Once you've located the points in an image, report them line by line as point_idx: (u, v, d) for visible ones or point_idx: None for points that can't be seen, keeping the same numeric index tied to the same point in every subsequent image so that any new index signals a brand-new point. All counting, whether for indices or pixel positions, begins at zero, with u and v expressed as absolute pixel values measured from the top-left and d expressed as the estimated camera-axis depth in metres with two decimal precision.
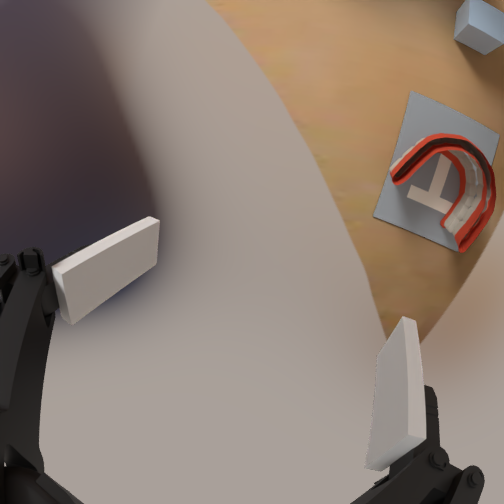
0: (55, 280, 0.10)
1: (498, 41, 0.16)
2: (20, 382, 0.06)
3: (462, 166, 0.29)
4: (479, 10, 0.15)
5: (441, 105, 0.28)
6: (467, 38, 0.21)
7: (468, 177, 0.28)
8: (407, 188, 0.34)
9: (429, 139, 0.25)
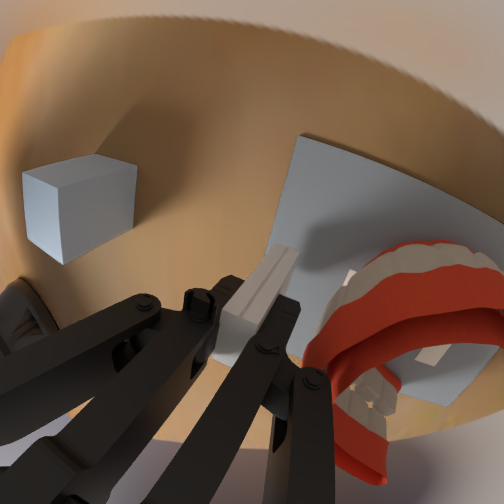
0: (223, 323, 0.10)
1: (62, 198, 0.14)
2: (126, 439, 0.06)
3: None
4: (37, 230, 0.16)
5: None
6: (110, 222, 0.19)
7: None
8: (419, 365, 0.17)
9: None
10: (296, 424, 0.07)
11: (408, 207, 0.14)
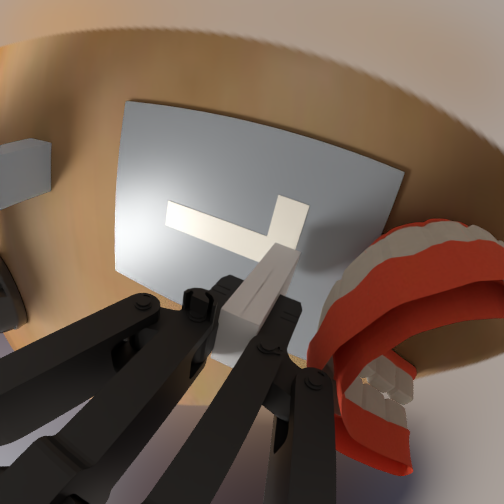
0: (222, 322, 0.10)
1: None
2: (125, 438, 0.06)
3: None
4: None
5: (117, 224, 0.21)
6: (31, 184, 0.21)
7: None
8: None
9: None
10: (297, 424, 0.07)
11: (201, 138, 0.16)
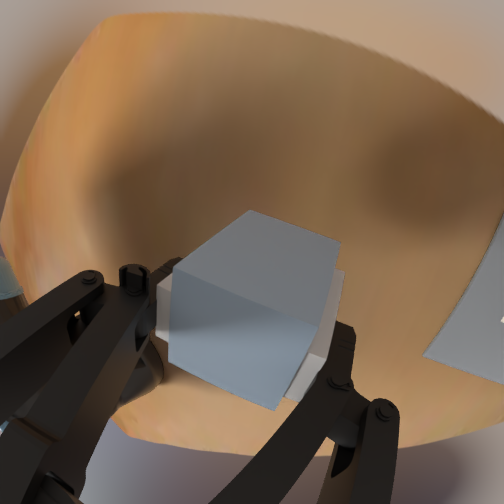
0: (159, 298, 0.11)
1: None
2: (87, 411, 0.06)
3: None
4: (210, 362, 0.11)
5: (451, 319, 0.19)
6: None
7: None
8: None
9: None
10: (364, 452, 0.06)
11: None
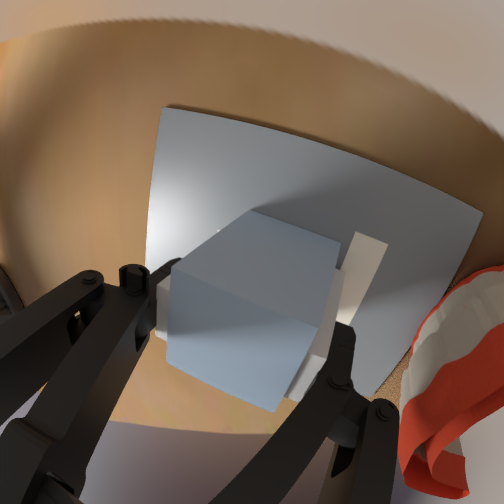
0: (159, 298, 0.11)
1: None
2: (87, 411, 0.06)
3: None
4: (208, 364, 0.11)
5: (148, 252, 0.19)
6: None
7: None
8: None
9: (405, 476, 0.10)
10: (364, 452, 0.06)
11: (265, 159, 0.14)
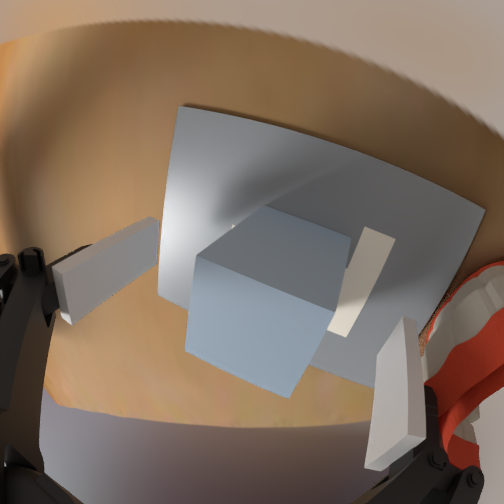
0: (55, 280, 0.10)
1: None
2: (21, 382, 0.06)
3: None
4: (227, 350, 0.11)
5: (162, 246, 0.20)
6: None
7: None
8: (328, 334, 0.18)
9: None
10: None
11: (279, 157, 0.15)
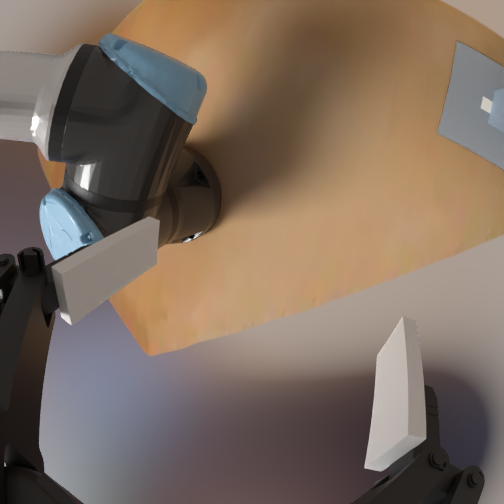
0: (55, 280, 0.10)
1: None
2: (20, 381, 0.06)
3: None
4: None
5: (447, 102, 0.27)
6: None
7: None
8: None
9: None
10: None
11: (498, 73, 0.21)
